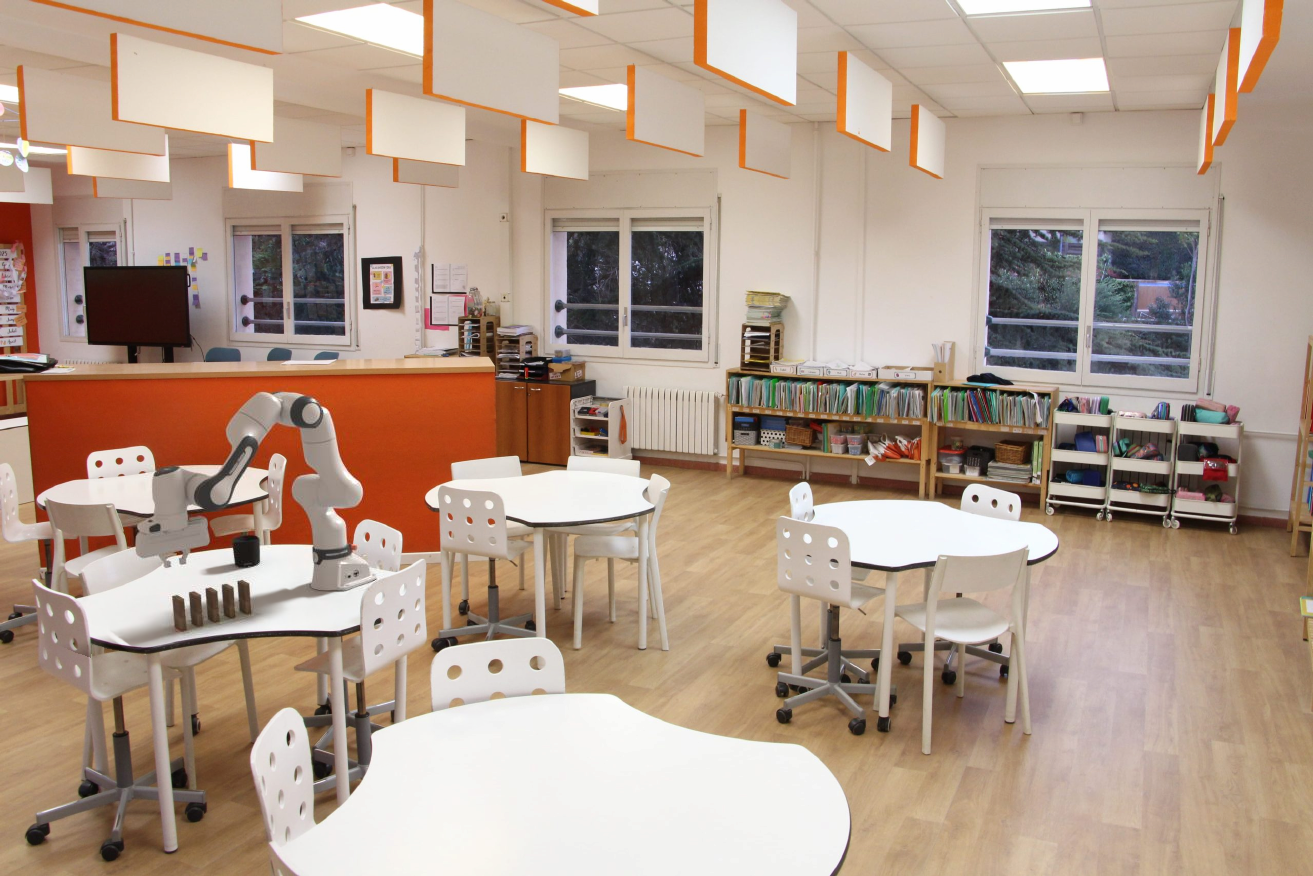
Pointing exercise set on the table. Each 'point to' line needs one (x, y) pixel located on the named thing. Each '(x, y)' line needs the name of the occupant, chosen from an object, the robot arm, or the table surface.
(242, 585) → the domino
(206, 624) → the domino board
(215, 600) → the domino
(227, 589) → the domino
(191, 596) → the domino
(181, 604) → the end domino
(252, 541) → the pen holder
